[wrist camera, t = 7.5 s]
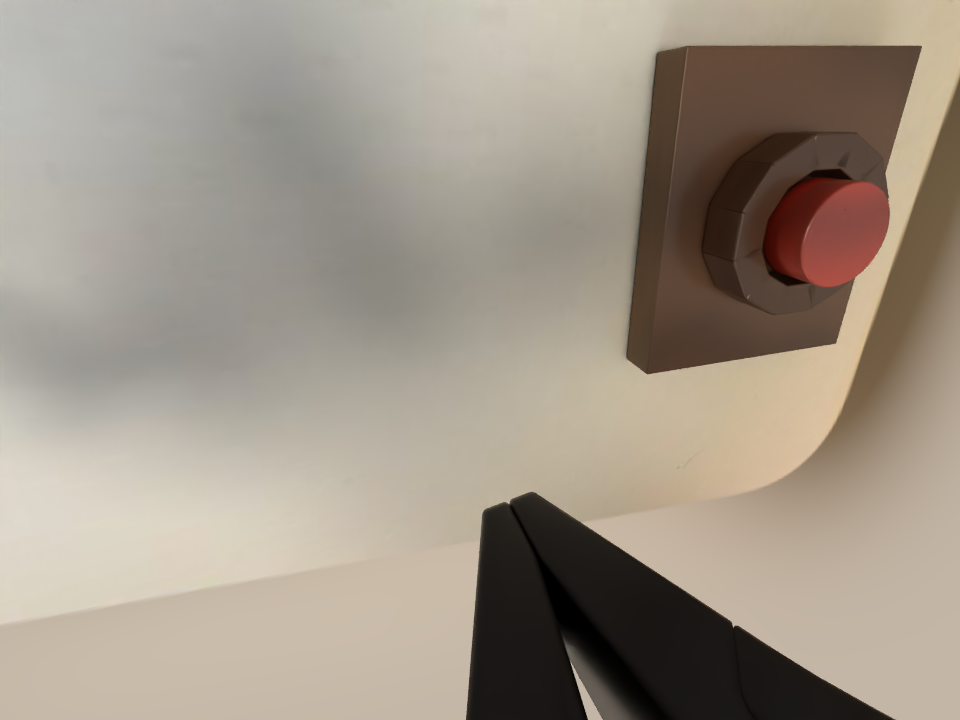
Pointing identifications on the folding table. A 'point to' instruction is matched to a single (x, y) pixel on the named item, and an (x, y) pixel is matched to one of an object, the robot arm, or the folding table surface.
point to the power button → (826, 230)
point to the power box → (750, 191)
